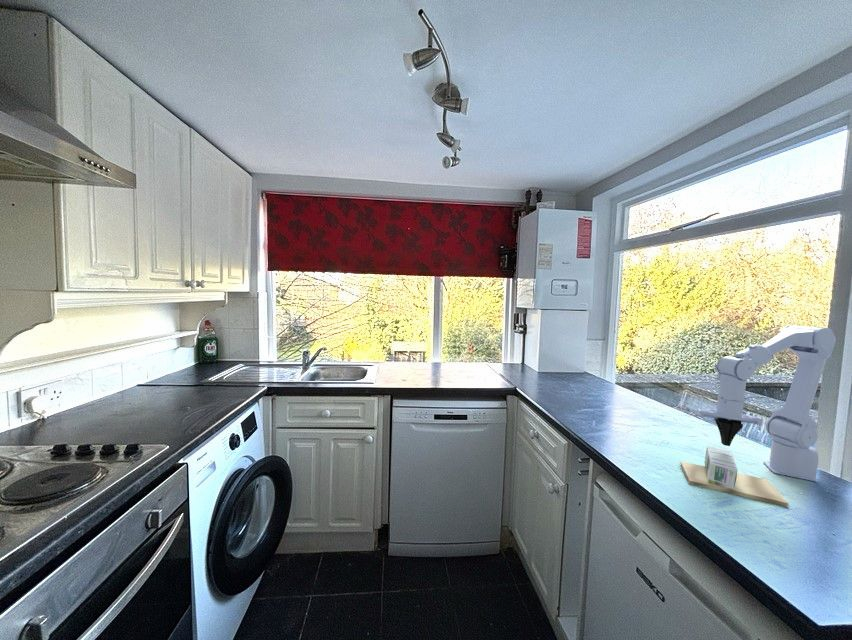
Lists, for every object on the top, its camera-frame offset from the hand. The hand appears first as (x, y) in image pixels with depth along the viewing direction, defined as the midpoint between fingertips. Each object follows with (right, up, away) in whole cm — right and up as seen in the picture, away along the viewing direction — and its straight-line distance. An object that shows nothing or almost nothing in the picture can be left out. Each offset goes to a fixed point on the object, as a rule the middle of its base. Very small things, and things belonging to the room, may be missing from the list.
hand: (725, 444), depth 103 cm
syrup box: (0, -5, +3) cm, 6 cm away
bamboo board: (-3, -9, -5) cm, 11 cm away
